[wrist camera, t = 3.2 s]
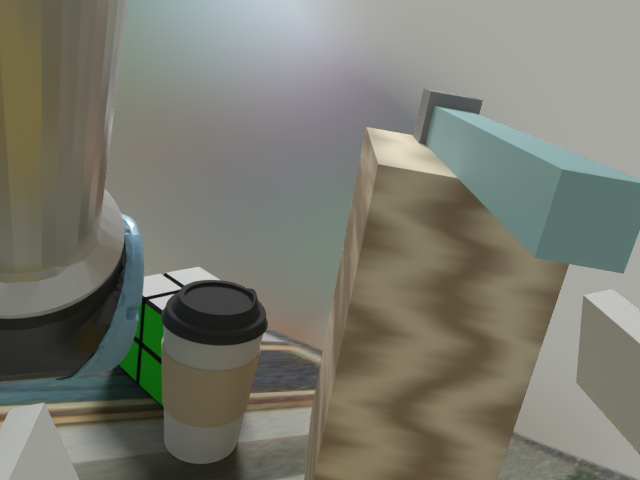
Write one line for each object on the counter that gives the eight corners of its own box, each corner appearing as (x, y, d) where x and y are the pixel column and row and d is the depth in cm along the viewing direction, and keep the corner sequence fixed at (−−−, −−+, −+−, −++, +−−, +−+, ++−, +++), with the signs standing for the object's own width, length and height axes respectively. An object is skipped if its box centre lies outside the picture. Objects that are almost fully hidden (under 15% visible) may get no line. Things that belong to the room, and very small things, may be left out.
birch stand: (295, 568, 40) (378, 164, 30) (310, 415, 57) (366, 127, 47) (457, 595, 40) (590, 201, 31) (424, 435, 57) (502, 151, 48)
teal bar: (519, 255, 18) (556, 134, 17) (413, 136, 47) (423, 88, 45) (638, 276, 18) (683, 157, 17) (459, 144, 47) (471, 96, 45)
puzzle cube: (242, 379, 61) (254, 298, 58) (163, 411, 54) (172, 320, 51) (191, 339, 67) (199, 264, 64) (113, 363, 60) (118, 279, 57)
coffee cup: (148, 475, 46) (162, 315, 41) (151, 407, 54) (163, 267, 49) (255, 470, 48) (280, 318, 44) (243, 406, 56) (262, 273, 52)
